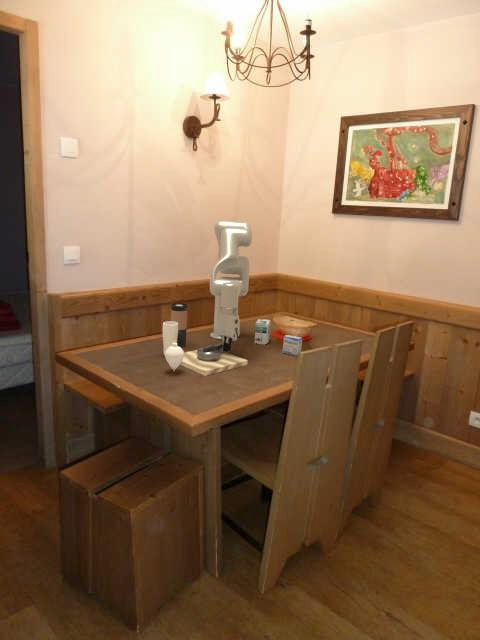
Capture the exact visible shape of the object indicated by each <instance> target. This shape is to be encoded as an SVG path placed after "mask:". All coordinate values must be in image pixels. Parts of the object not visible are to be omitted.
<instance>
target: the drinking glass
mask: <svg viewBox="0 0 480 640" xmlns="http://www.w3.org/2000/svg"><path fill="white" fill-rule="evenodd" d="M177 337H178V323H177V322H173V321H171V320H169V321H164V322H163V323H162V345H163V357H165V352H166V350H167V349H168V348H169V347H171V346H173V343H177Z"/></svg>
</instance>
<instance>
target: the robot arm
mask: <svg viewBox="0 0 480 640" xmlns="http://www.w3.org/2000/svg"><path fill="white" fill-rule="evenodd" d="M214 223H215V224H214V234H215V237H216V240H217V244H218V253H217V254H218V255H217V256H218V257H217V259H218V260H217V261H216V262H215V264H214V265H213V267H211V270H210V275H209V292H210V294H211V295H212V296H214V315H213V321H214V322H213V332H211V333H210V337H211V338H213V339H216V340H222V342H224V343H223V351H225V352H226V353H229V352H231V350H232V343H233V341H234V342H235V341H237V340H238V338H239V336H240V335H241V334H240V333H241V332H240V331H241V327H240V326H241V324H240V323H241V322H240V315H239V297H244V296H246V295H247V294H248V291H249V281H250V260H249V258H248V257H247V256H244V255H240V253H239V252H240V248H239V247H243V248H246V247H247V248H248V247H250V246H251V245H252V243H253V233H252V232H253V231H252V228H251V224H250V223H249V222H247V221H239V220H218V221H216V222H214ZM217 273H220V274H224V275H238V276H237V277H236V276H219V277H217V275H218V274H217Z"/></svg>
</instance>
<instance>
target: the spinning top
mask: <svg viewBox="0 0 480 640" xmlns="http://www.w3.org/2000/svg"><path fill="white" fill-rule="evenodd" d="M184 353H185V351H184V350H183V349H182V347H178V346H177V343H173V346H171V347H169V348H168V349H167V350H166V352H165V356H164V357H165V358H164V359H165V360H166V362H167V363H168V365H169V366H170V368H171V369H172V370H173V372H176V371H175V370H176V369H177V368H179V366H180V365H179V364H180V363H181V362H182V360H183V358H184Z"/></svg>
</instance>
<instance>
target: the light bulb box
mask: <svg viewBox="0 0 480 640" xmlns="http://www.w3.org/2000/svg"><path fill="white" fill-rule="evenodd" d="M254 330H255V332H254V344H256V343H257V344H258V345H265V344H267V343H269V341H270V333H271V332H270V331H271V320H270V319H264V318H263V319H262V318H258V319H257V320H256V322H255V329H254ZM267 345H268V344H267Z"/></svg>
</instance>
